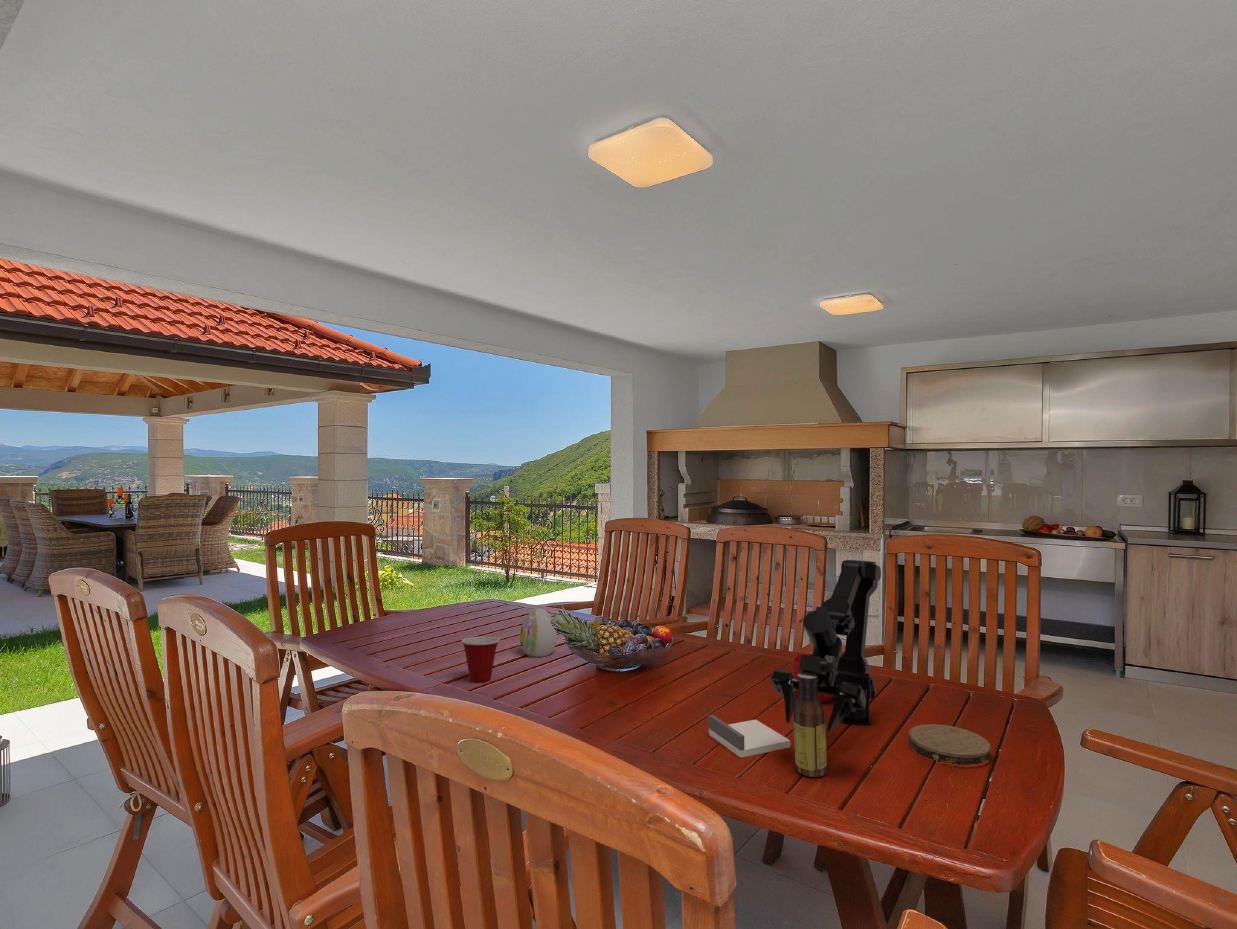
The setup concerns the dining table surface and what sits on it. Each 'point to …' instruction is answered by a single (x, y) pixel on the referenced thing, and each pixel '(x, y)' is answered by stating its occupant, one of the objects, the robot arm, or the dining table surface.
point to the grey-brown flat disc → (949, 744)
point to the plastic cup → (480, 657)
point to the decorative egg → (538, 634)
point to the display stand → (746, 737)
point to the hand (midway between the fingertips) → (807, 727)
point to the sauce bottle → (809, 728)
